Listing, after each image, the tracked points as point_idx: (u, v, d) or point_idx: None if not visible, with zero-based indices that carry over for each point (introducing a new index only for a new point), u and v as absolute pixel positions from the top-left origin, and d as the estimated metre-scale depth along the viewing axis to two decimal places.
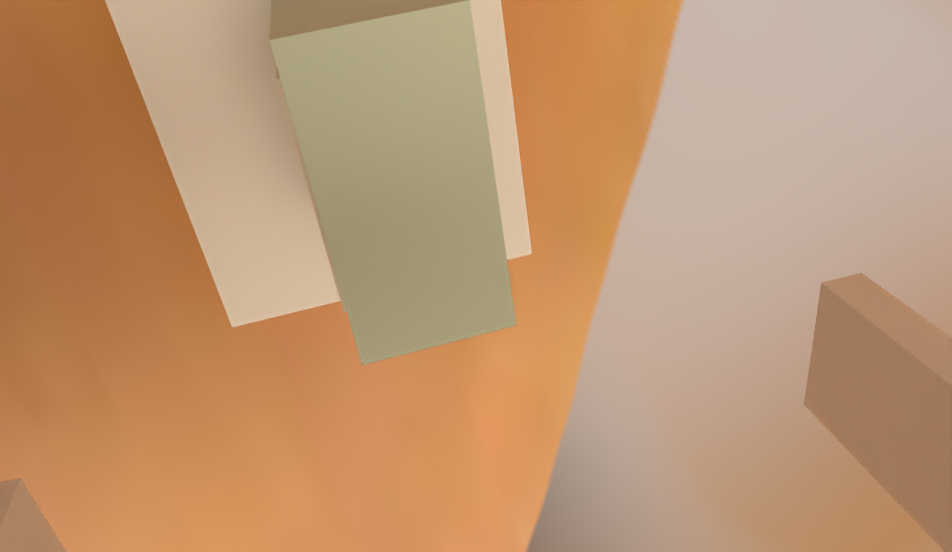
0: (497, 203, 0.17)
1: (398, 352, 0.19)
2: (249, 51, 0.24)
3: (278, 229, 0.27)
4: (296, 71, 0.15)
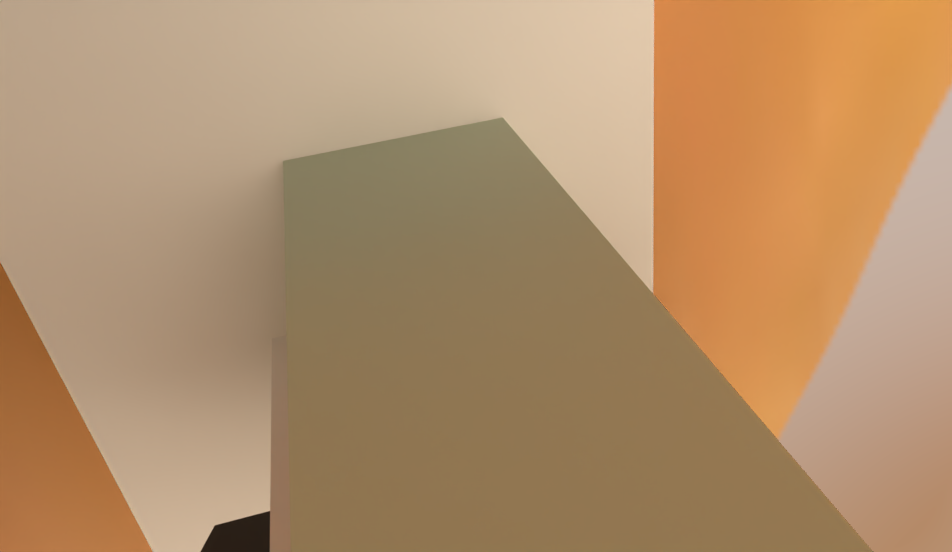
0: None
1: None
2: (236, 283, 0.14)
3: None
4: None
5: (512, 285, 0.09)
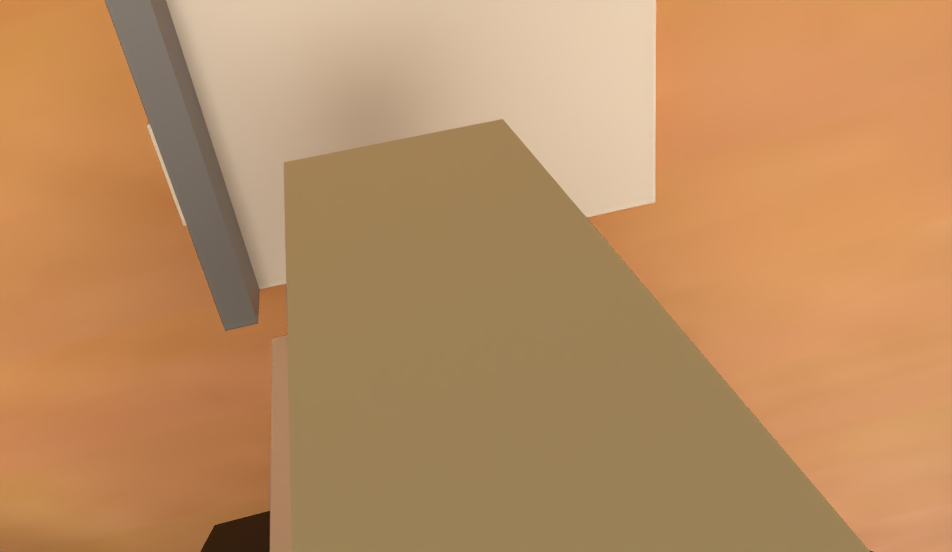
0: None
1: None
2: None
3: (572, 158, 0.30)
4: None
5: (512, 288, 0.09)
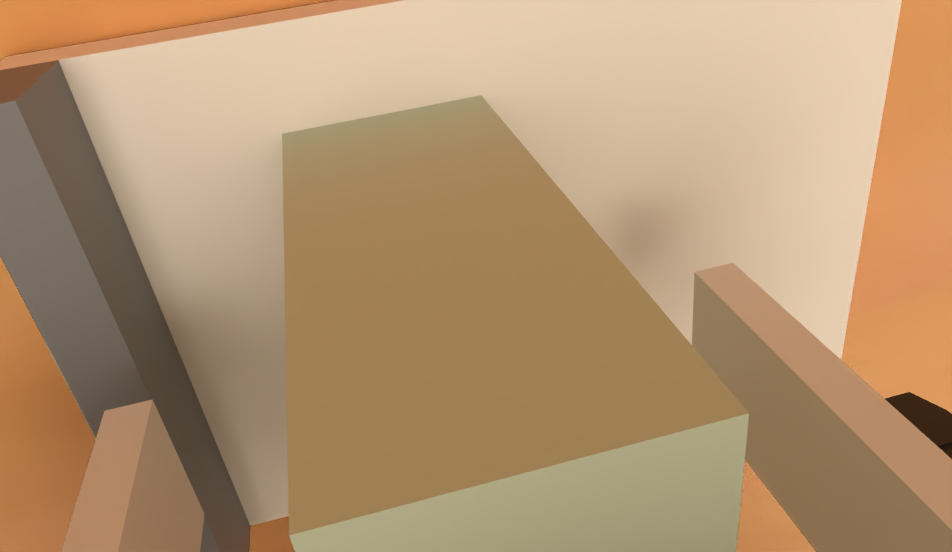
0: None
1: None
2: None
3: None
4: None
5: (478, 229, 0.10)
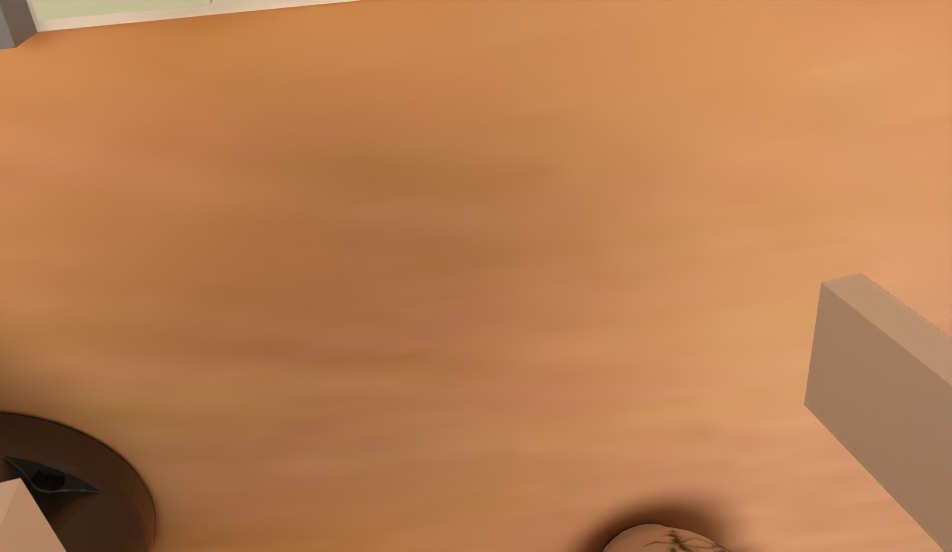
0: None
1: (80, 15, 0.18)
2: None
3: None
4: None
5: None
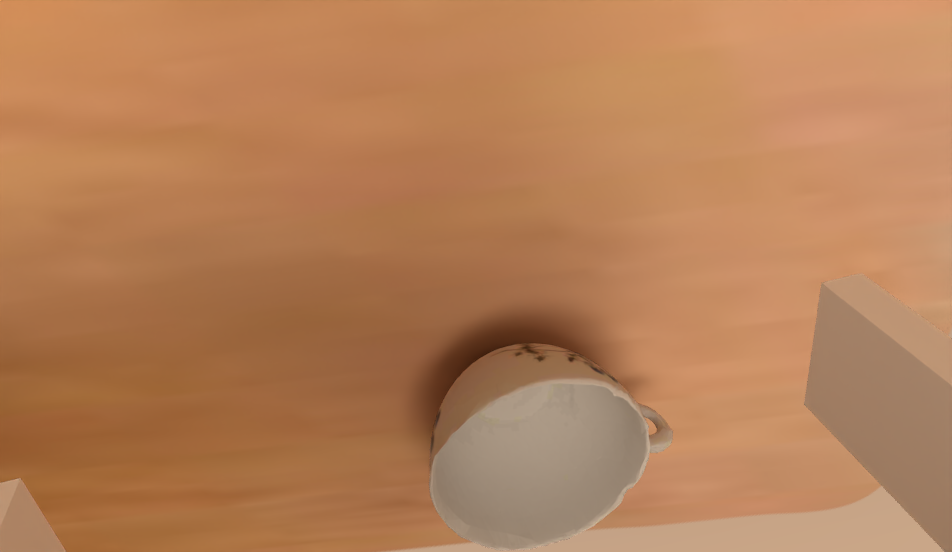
0: None
1: None
2: None
3: None
4: None
5: None
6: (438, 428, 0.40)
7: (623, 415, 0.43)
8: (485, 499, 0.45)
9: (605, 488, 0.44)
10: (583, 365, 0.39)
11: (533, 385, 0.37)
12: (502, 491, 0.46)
